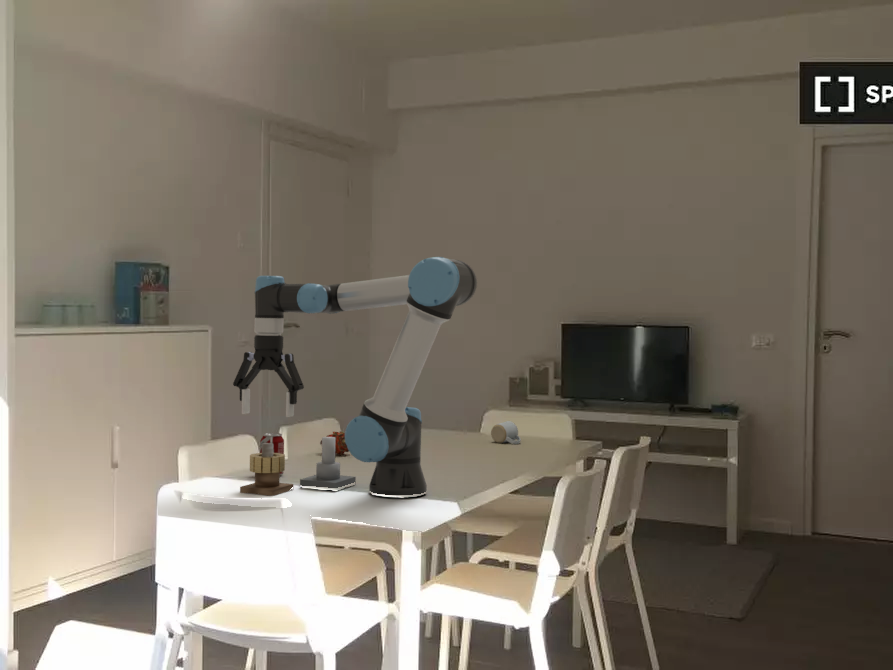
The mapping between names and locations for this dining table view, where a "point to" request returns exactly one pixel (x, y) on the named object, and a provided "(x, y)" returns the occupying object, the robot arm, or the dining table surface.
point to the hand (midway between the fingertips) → (267, 415)
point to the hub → (328, 469)
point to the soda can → (277, 443)
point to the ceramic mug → (505, 433)
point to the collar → (267, 463)
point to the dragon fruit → (339, 442)
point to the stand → (266, 479)
